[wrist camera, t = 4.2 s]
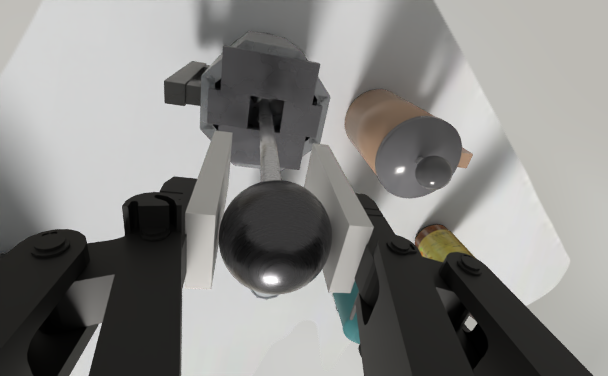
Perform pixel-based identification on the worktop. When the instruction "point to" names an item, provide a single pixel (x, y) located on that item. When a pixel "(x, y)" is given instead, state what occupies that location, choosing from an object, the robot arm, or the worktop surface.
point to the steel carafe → (256, 82)
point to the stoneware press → (404, 143)
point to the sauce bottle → (438, 243)
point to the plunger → (274, 220)
